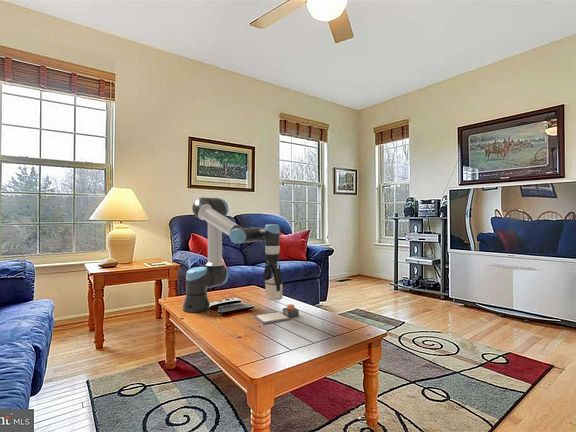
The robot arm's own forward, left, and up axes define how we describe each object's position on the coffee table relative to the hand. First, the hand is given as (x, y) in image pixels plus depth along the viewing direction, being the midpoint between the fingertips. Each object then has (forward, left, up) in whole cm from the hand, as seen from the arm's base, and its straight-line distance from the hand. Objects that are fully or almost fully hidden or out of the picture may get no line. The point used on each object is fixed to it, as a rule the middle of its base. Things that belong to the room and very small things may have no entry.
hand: (272, 294), depth 169 cm
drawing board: (0, 0, -13) cm, 13 cm away
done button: (0, +11, -10) cm, 15 cm away
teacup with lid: (0, 0, -2) cm, 2 cm away
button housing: (0, +11, -13) cm, 17 cm away
